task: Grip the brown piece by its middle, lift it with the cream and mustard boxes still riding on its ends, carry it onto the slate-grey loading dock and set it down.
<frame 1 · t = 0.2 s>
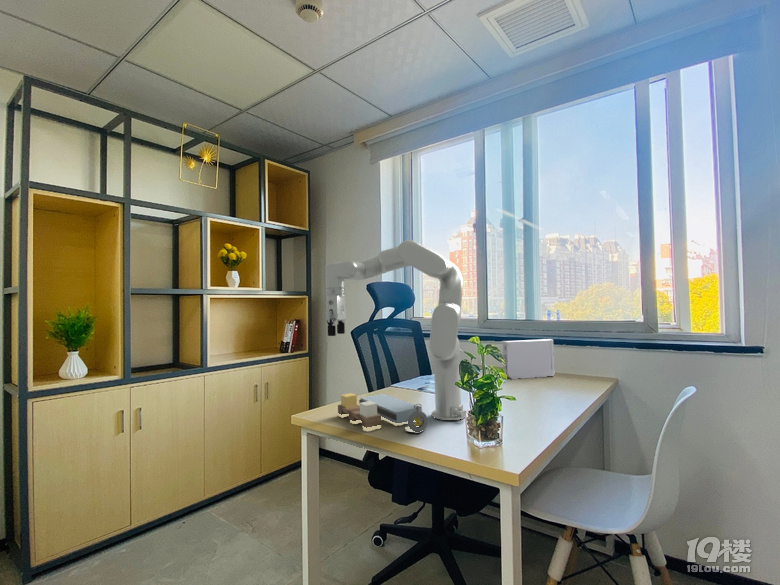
hand: (336, 334, 156), 31 cm above the table, tool pointing down, fingers open, 9 cm apart
cream box: (368, 414, 133), point 4 cm above the table, touching brown piece
game console: (529, 377, 209), on the table
pocket watch: (415, 432, 127), on the table
brown piece: (358, 422, 139), on the table, touching cream box, mustard box
mustard box: (348, 405, 146), point 4 cm above the table, touching brown piece
dock: (389, 415, 147), on the table
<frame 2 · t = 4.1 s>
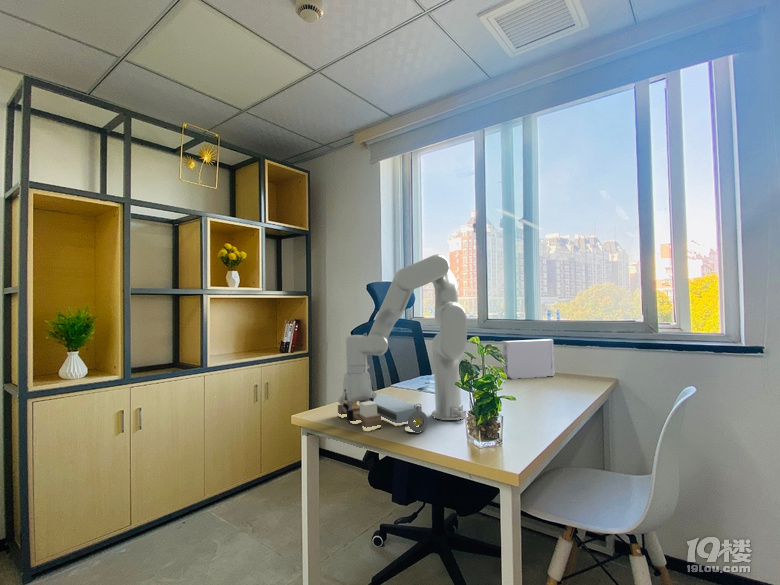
hand: (358, 418, 139), 1 cm above the table, tool pointing down, fingers closed on brown piece, 6 cm apart
brown piece: (358, 422, 139), on the table, touching cream box, gripper, mustard box
everything else where it was.
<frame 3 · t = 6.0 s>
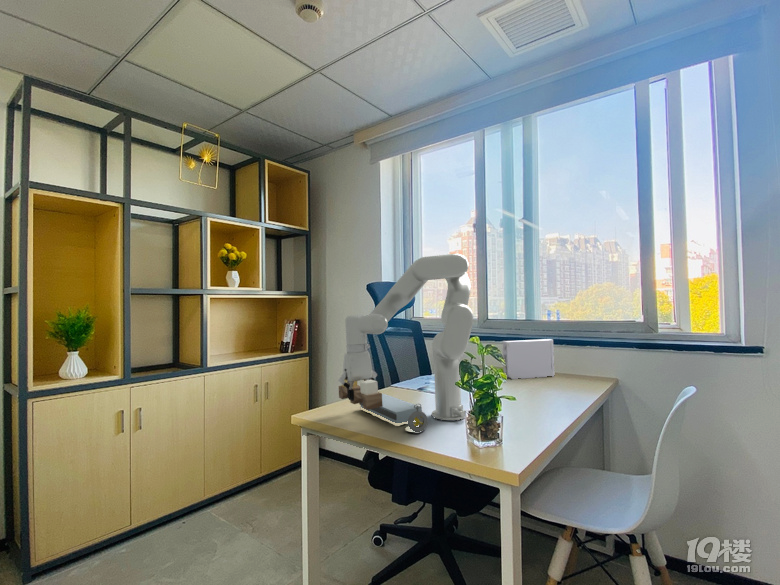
hand: (359, 397, 139), 9 cm above the table, tool pointing down, fingers closed on brown piece, 6 cm apart
cream box: (369, 393, 133), point 12 cm above the table, touching brown piece
brown piece: (359, 401, 139), point 7 cm above the table, touching cream box, gripper, mustard box
mustard box: (349, 386, 146), point 12 cm above the table, touching brown piece
everything else where it was.
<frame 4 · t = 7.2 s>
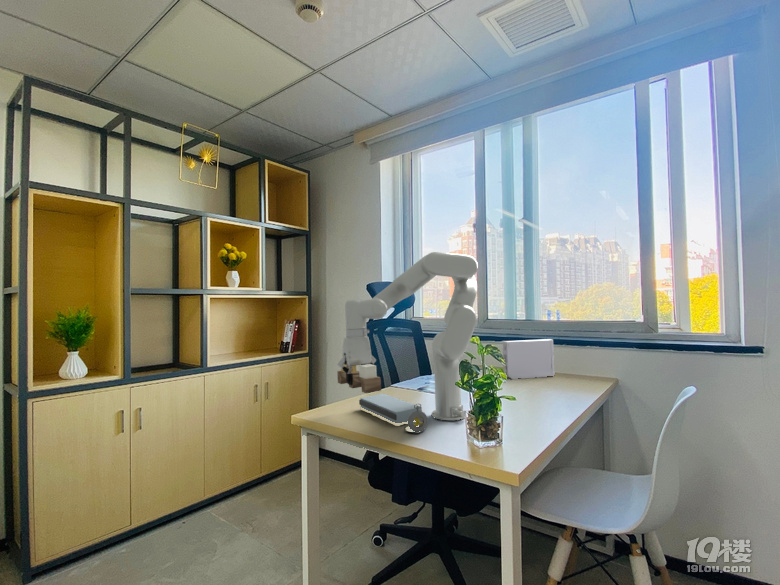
hand: (358, 382, 140), 14 cm above the table, tool pointing down, fingers closed on brown piece, 6 cm apart
cream box: (368, 377, 133), point 17 cm above the table, touching brown piece
brown piece: (358, 386, 140), point 13 cm above the table, touching cream box, gripper, mustard box
mustard box: (348, 371, 146), point 17 cm above the table, touching brown piece
everything else where it was.
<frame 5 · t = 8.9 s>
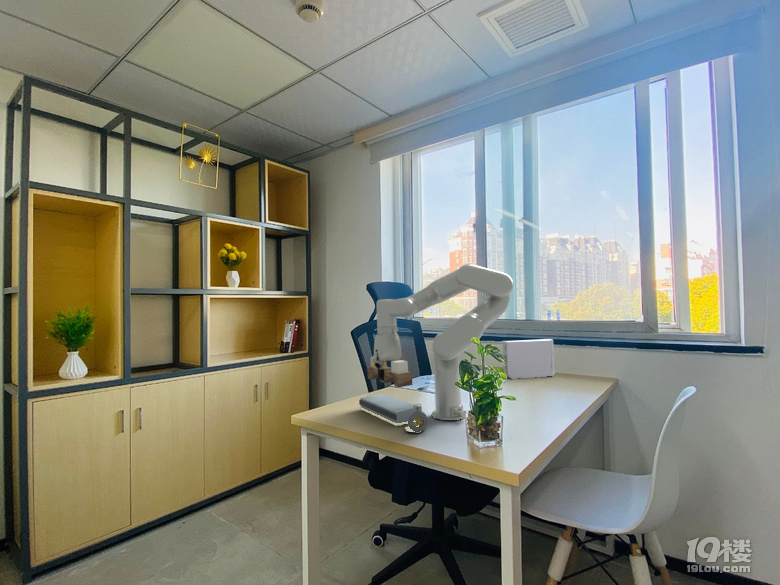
hand: (388, 377, 147), 14 cm above the table, tool pointing down, fingers closed on brown piece, 6 cm apart
cream box: (399, 372, 141), point 17 cm above the table, touching brown piece
brown piece: (389, 381, 147), point 13 cm above the table, touching cream box, gripper, mustard box
mustard box: (378, 367, 153), point 17 cm above the table, touching brown piece
everything else where it was.
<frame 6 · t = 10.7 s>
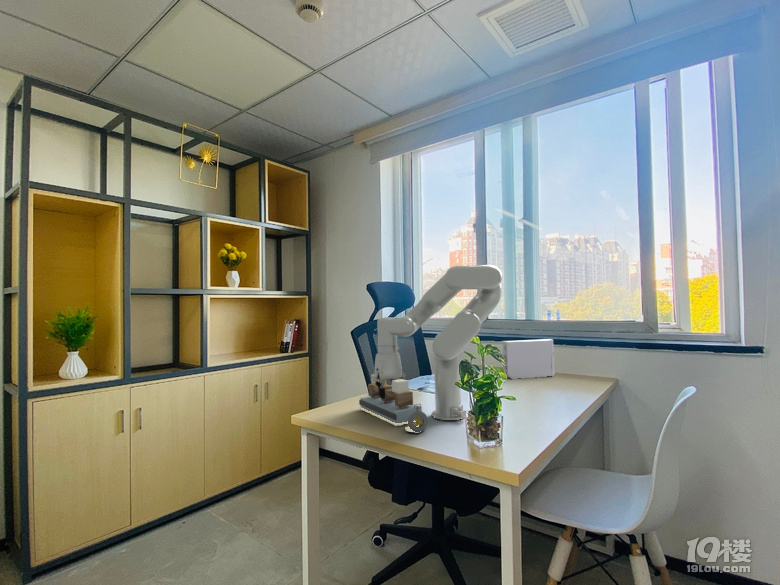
hand: (389, 396, 147), 7 cm above the table, tool pointing down, fingers closed on brown piece, 6 cm apart
cream box: (400, 391, 141), point 10 cm above the table, touching brown piece
brown piece: (389, 399, 147), point 6 cm above the table, touching cream box, gripper, mustard box
mustard box: (379, 384, 153), point 10 cm above the table, touching brown piece
everything else where it was.
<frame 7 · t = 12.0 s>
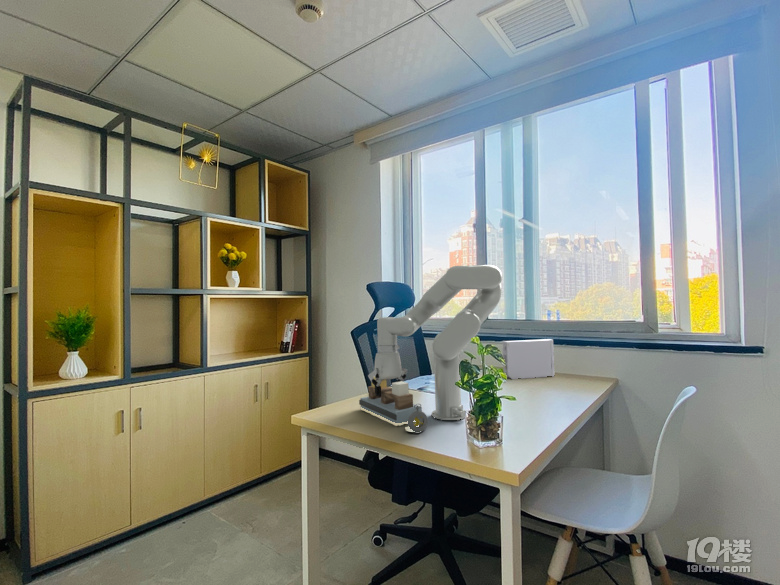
hand: (389, 394, 147), 8 cm above the table, tool pointing down, fingers open, 9 cm apart
brown piece: (389, 402, 147), point 5 cm above the table, touching cream box, dock, mustard box
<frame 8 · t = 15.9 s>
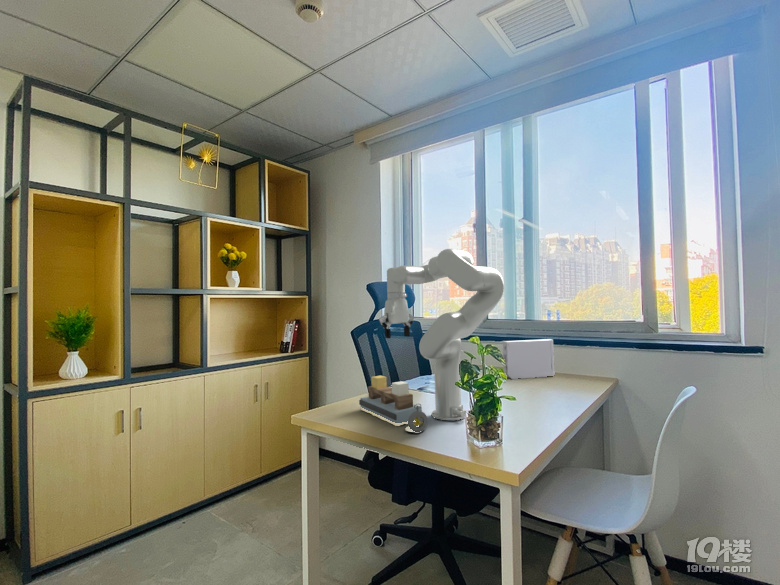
hand: (397, 337, 162), 28 cm above the table, tool pointing down, fingers open, 9 cm apart
nothing on the table moved.
at the end: brown piece 0.1 cm off-centre on the dock, point 5.0 cm above the dock's base; cream box inside the target area on the brown piece (7.5 cm from its centre), point 4.5 cm above the brown piece's base; mustard box inside the target area on the brown piece (7.5 cm from its centre), point 4.5 cm above the brown piece's base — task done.
